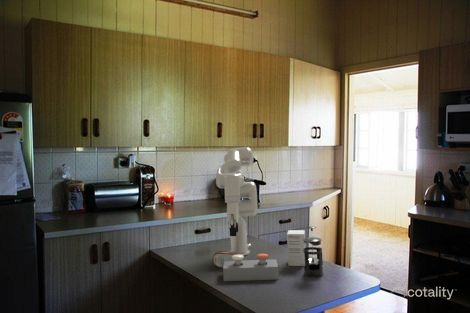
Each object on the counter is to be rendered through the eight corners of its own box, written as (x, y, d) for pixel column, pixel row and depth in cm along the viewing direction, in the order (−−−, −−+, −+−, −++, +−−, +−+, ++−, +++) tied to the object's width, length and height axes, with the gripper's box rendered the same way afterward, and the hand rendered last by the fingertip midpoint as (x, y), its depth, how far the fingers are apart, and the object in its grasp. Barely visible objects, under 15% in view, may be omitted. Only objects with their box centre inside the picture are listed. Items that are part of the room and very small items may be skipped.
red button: (257, 267, 186) (256, 257, 186) (256, 264, 192) (256, 253, 192) (268, 267, 186) (268, 256, 186) (268, 263, 191) (267, 253, 191)
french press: (314, 278, 181) (312, 229, 180) (298, 274, 188) (297, 227, 188) (329, 272, 189) (327, 225, 188) (313, 268, 196) (312, 223, 195)
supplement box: (289, 260, 212) (287, 229, 211) (306, 260, 210) (305, 229, 210) (288, 265, 202) (286, 233, 202) (305, 266, 201) (304, 233, 200)
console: (223, 281, 184) (223, 268, 183) (225, 272, 196) (224, 261, 195) (278, 279, 183) (278, 266, 182) (276, 271, 195) (276, 259, 194)
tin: (241, 267, 204) (240, 251, 203) (239, 269, 201) (238, 253, 200) (214, 265, 208) (213, 250, 208) (212, 267, 205) (211, 251, 205)
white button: (232, 268, 186) (231, 257, 186) (232, 265, 192) (232, 254, 192) (243, 268, 186) (243, 257, 186) (244, 264, 192) (243, 254, 192)
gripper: (227, 197, 199) (228, 231, 199) (222, 201, 182) (224, 237, 182) (241, 197, 199) (243, 230, 198) (238, 201, 181) (240, 237, 181)
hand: (234, 234), depth 190 cm, fingers open, 9 cm apart
